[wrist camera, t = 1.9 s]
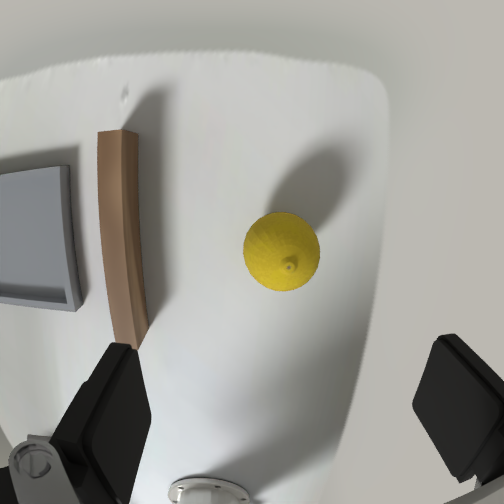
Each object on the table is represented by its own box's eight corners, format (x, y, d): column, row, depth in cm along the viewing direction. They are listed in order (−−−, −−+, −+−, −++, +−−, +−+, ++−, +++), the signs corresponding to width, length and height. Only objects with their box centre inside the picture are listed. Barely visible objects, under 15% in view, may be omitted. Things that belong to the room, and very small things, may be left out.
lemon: (285, 193, 26) (304, 205, 18) (318, 247, 27) (347, 279, 20) (230, 228, 27) (226, 255, 19) (264, 280, 28) (274, 323, 20)
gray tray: (69, 165, 24) (59, 166, 23) (83, 304, 28) (75, 312, 26) (-22, 179, 24) (-32, 180, 22) (-6, 294, 28) (-15, 300, 26)
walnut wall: (138, 133, 24) (121, 129, 20) (148, 328, 29) (137, 350, 25) (116, 135, 24) (97, 132, 20) (130, 327, 29) (116, 348, 25)
